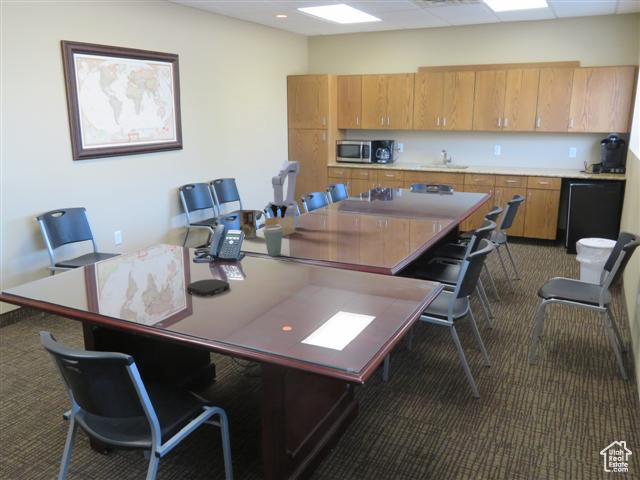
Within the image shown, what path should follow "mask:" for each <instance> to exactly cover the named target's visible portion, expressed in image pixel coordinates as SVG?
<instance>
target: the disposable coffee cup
mask: <svg viewBox="0 0 640 480" xmlns="http://www.w3.org/2000/svg"><path fill="white" fill-rule="evenodd" d="M282 231H283V228H282V226H280V225H278V224H277V225H270V226H266V227H265V226H264V227H263V229H262V232H263V236H264V240H265V245H266V249H267V255H268V256H271V257H275V256H280V255H281V251H282V241H283V236H282Z"/></svg>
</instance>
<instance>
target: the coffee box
mask: <svg viewBox="0 0 640 480" xmlns="http://www.w3.org/2000/svg"><path fill="white" fill-rule="evenodd" d="M256 221H257V219H256V210H254V209H251V210H249V209H248V210H245V209H244V210H240V211H239V212H238V222H239V231H240V230H243V231H244V233H245V238H244V239H256V237H257V235H258V234H257V222H256Z"/></svg>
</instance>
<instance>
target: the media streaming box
mask: <svg viewBox="0 0 640 480" xmlns="http://www.w3.org/2000/svg"><path fill="white" fill-rule="evenodd" d="M228 289H229V290H230V283H229V282H227V281H225V280H222V279H217V278H213V279H200V280H197V281H193V282H192V283H189V284H188V285H187V286H186V291H187V292H188V291H189V292H188V293H190V292H192V293H191V294H193V293H196V294H198V295H197V296H199V295H201V297H208V296H207V295H211V296H214V295H213V294H215V295H217V294H216V293H218V294H220V292H221V293H224V292H227V291H229V290H228ZM226 290H227V291H226ZM223 291H224V292H223ZM196 294H195V295H196Z"/></svg>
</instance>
